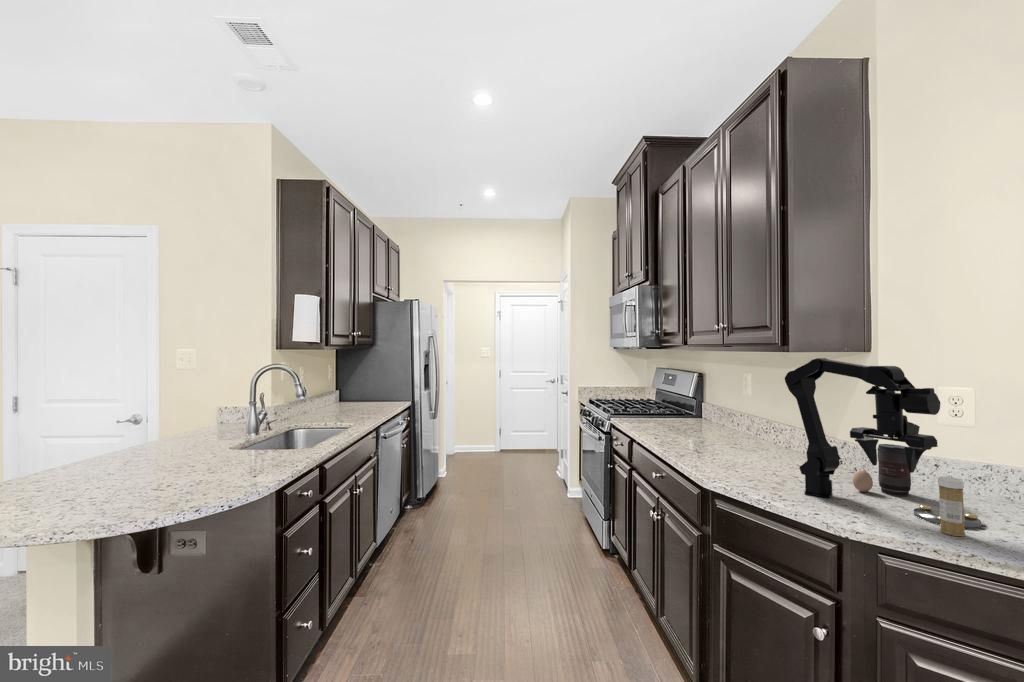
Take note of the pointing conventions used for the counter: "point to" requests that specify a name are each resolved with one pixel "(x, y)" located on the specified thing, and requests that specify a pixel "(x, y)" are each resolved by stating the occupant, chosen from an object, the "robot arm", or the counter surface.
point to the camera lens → (893, 470)
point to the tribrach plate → (934, 516)
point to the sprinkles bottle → (951, 506)
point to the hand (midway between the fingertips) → (892, 468)
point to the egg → (862, 481)
